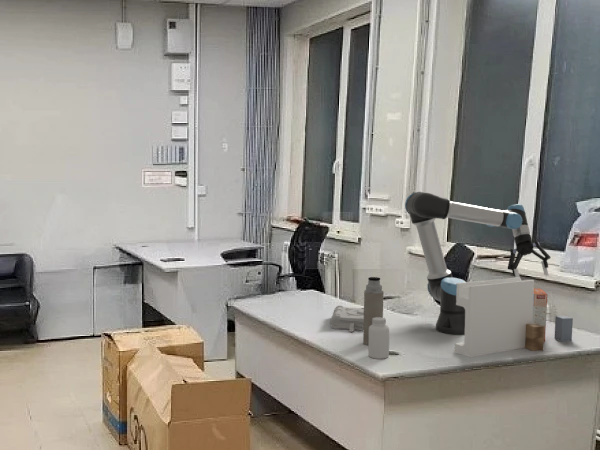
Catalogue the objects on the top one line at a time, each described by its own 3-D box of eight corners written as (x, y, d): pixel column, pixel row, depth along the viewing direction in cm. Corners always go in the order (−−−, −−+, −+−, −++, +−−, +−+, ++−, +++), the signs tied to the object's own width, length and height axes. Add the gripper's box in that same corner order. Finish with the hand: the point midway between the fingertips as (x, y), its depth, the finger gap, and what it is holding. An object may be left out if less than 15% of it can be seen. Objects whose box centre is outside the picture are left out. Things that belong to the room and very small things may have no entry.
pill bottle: (366, 353, 242) (367, 316, 241) (386, 353, 243) (387, 316, 242) (370, 359, 234) (371, 321, 233) (390, 359, 235) (391, 320, 234)
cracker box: (546, 341, 263) (548, 293, 261) (531, 341, 264) (533, 293, 263) (539, 333, 277) (542, 288, 275) (525, 332, 278) (527, 287, 276)
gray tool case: (328, 332, 276) (329, 315, 275) (333, 318, 303) (334, 302, 303) (371, 335, 273) (372, 318, 273) (372, 320, 301) (373, 305, 300)
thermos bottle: (365, 340, 262) (366, 275, 260) (383, 342, 259) (385, 276, 257) (361, 345, 254) (362, 278, 252) (380, 347, 252) (381, 279, 250)
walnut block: (531, 351, 249) (532, 326, 248) (525, 347, 254) (526, 323, 253) (543, 350, 250) (544, 326, 249) (536, 347, 255) (537, 323, 254)
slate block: (561, 341, 264) (562, 318, 264) (554, 338, 269) (555, 315, 269) (571, 340, 265) (572, 318, 264) (564, 337, 270) (565, 315, 269)
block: (468, 357, 239) (471, 286, 237) (454, 352, 246) (456, 283, 244) (531, 346, 256) (534, 280, 254) (516, 341, 263) (518, 277, 261)
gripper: (550, 229, 285) (562, 272, 278) (502, 244, 302) (511, 286, 294) (543, 226, 280) (554, 270, 273) (494, 242, 297) (504, 284, 289)
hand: (532, 279), depth 284 cm, fingers open, 13 cm apart
